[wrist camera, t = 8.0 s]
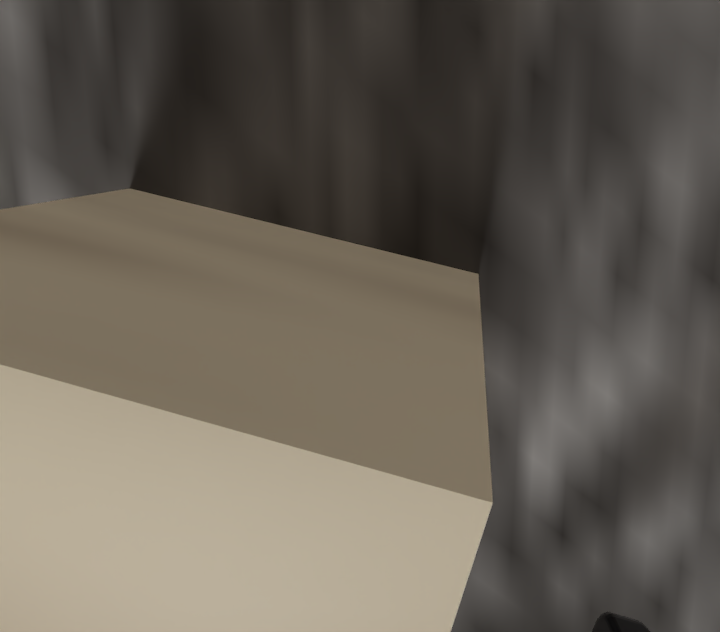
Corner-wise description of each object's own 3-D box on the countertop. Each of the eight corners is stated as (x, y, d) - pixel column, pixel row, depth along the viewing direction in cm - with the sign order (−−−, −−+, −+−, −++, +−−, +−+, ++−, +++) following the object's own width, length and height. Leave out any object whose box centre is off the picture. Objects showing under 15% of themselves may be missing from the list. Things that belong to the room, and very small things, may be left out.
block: (359, 697, 10) (254, 1228, 5) (93, 613, 10) (-234, 1031, 5) (478, 272, 8) (493, 501, 3) (135, 187, 8) (-347, 266, 3)
